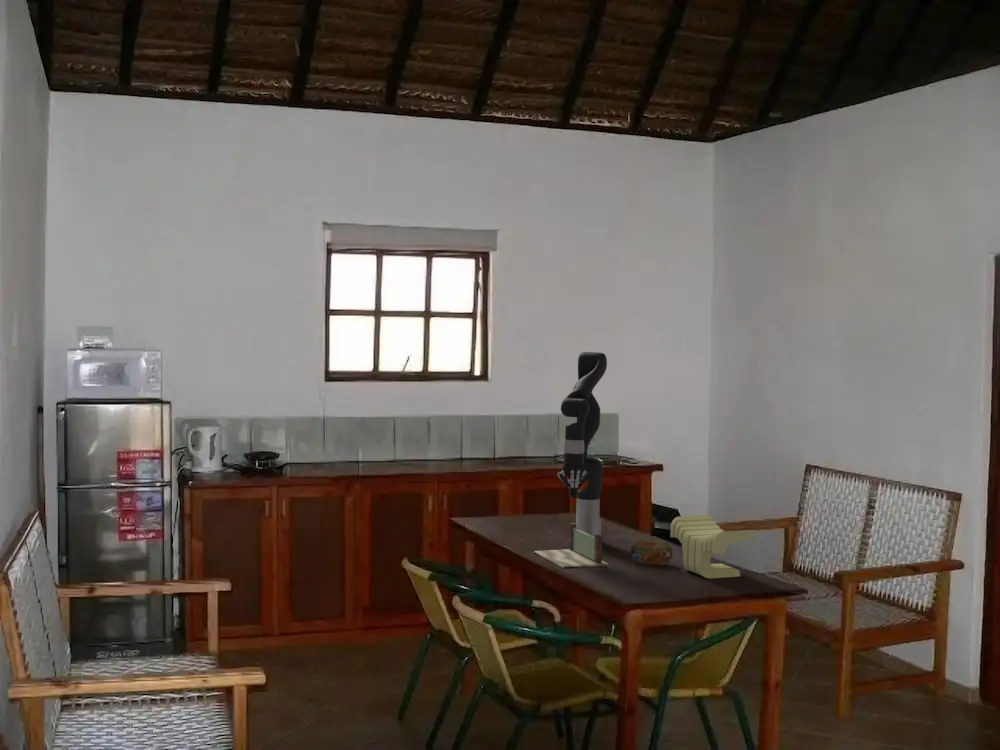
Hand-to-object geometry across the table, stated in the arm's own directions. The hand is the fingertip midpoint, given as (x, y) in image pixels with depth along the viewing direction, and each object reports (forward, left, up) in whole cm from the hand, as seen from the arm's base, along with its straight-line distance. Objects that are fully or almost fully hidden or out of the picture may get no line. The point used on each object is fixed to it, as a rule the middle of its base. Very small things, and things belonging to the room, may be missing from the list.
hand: (572, 497), depth 411 cm
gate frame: (+4, +9, -21) cm, 24 cm away
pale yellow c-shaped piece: (-35, +43, -21) cm, 59 cm away
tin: (-22, +23, -22) cm, 38 cm away
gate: (-2, +9, -20) cm, 22 cm away
